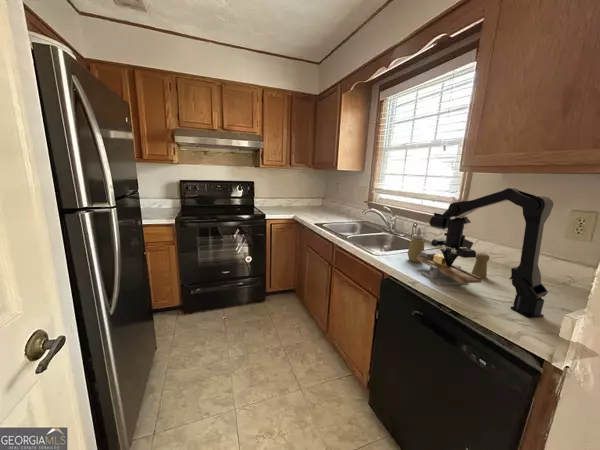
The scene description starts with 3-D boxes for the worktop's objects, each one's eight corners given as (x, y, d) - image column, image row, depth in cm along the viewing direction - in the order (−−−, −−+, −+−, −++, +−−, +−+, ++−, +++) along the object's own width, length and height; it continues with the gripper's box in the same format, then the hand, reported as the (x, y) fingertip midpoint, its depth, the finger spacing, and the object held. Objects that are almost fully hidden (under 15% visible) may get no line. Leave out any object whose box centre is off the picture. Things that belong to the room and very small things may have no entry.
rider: (450, 266, 113) (451, 258, 112) (440, 267, 112) (442, 258, 111) (442, 262, 118) (443, 254, 117) (432, 263, 117) (434, 254, 116)
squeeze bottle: (425, 264, 131) (430, 230, 128) (408, 262, 132) (413, 229, 129) (420, 259, 139) (425, 227, 135) (405, 257, 140) (409, 226, 137)
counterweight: (435, 259, 121) (436, 253, 121) (426, 260, 120) (427, 254, 120) (428, 256, 126) (429, 250, 126) (419, 256, 125) (420, 251, 125)
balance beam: (481, 282, 100) (482, 277, 100) (463, 283, 98) (463, 278, 98) (431, 258, 127) (432, 255, 126) (416, 259, 125) (416, 255, 125)
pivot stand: (468, 283, 109) (471, 270, 108) (439, 285, 106) (441, 272, 105) (447, 272, 121) (449, 260, 119) (420, 274, 118) (422, 261, 116)
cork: (489, 279, 115) (494, 256, 113) (474, 277, 116) (479, 254, 114) (482, 274, 121) (487, 252, 119) (468, 272, 122) (472, 251, 120)
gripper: (490, 237, 100) (483, 274, 103) (453, 227, 118) (448, 259, 121) (467, 237, 98) (460, 275, 101) (433, 227, 115) (428, 259, 119)
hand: (448, 266), depth 110 cm, fingers closed
